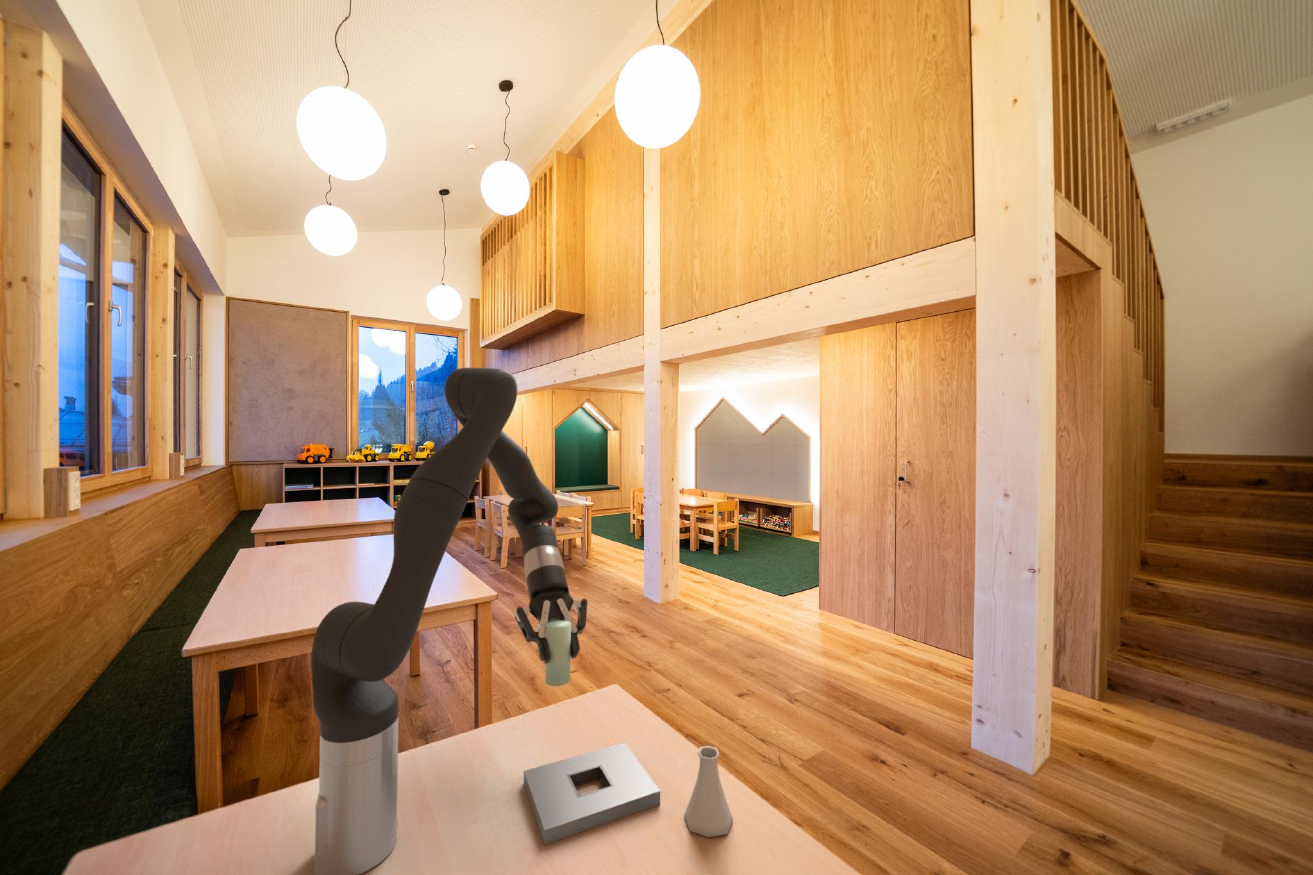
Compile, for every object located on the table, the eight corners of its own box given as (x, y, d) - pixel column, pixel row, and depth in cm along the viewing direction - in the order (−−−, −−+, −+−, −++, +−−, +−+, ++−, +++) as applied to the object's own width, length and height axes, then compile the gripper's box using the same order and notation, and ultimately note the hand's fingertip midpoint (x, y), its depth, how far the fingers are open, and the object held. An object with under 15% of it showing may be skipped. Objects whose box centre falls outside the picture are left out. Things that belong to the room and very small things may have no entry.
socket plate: (544, 844, 69) (544, 830, 69) (523, 783, 81) (523, 770, 82) (660, 803, 77) (660, 790, 77) (625, 753, 90) (625, 742, 90)
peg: (548, 688, 86) (549, 630, 87) (542, 677, 90) (543, 622, 90) (573, 683, 88) (574, 626, 88) (566, 672, 92) (567, 618, 92)
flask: (731, 804, 77) (732, 739, 77) (734, 841, 70) (734, 769, 70) (685, 800, 78) (685, 736, 78) (682, 837, 71) (683, 765, 71)
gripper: (511, 567, 93) (523, 656, 82) (584, 560, 100) (604, 642, 88) (505, 588, 98) (516, 675, 87) (575, 580, 104) (594, 660, 93)
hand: (561, 658), depth 88 cm, fingers closed on peg, 4 cm apart
